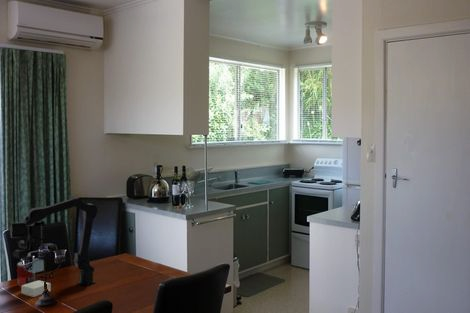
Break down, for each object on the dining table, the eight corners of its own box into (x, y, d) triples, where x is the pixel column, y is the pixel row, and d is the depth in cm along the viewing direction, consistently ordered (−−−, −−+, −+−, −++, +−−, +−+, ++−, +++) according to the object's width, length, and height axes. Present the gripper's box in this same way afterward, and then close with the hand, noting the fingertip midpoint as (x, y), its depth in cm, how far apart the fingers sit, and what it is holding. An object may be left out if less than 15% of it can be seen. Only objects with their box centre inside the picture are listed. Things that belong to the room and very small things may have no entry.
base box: (50, 291, 216) (50, 283, 216) (33, 297, 209) (33, 288, 208) (38, 288, 221) (38, 280, 221) (21, 294, 213) (21, 285, 213)
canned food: (28, 288, 220) (28, 265, 220) (14, 287, 222) (13, 264, 222) (38, 283, 228) (38, 261, 227) (24, 282, 230) (23, 260, 229)
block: (43, 270, 215) (43, 259, 215) (33, 273, 211) (33, 262, 211) (37, 268, 218) (37, 258, 218) (27, 271, 214) (27, 260, 214)
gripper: (44, 230, 226) (44, 261, 227) (6, 236, 211) (7, 270, 212) (57, 233, 219) (57, 265, 220) (19, 240, 204) (20, 274, 205)
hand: (35, 268), depth 214 cm, fingers closed on block, 5 cm apart
